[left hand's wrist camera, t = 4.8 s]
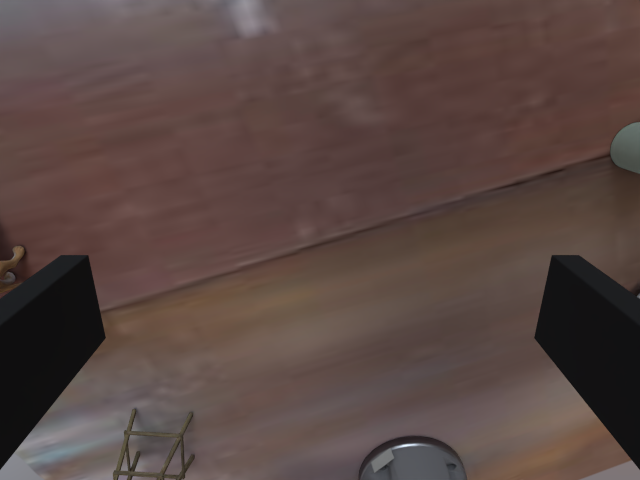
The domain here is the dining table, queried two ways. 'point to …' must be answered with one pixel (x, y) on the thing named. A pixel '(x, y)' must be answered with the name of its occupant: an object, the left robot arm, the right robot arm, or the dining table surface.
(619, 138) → the bottle
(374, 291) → the dining table surface
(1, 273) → the lion figurine
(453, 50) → the dining table surface
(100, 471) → the dining table surface
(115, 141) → the dining table surface
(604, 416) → the left robot arm
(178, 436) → the miniature windmill
